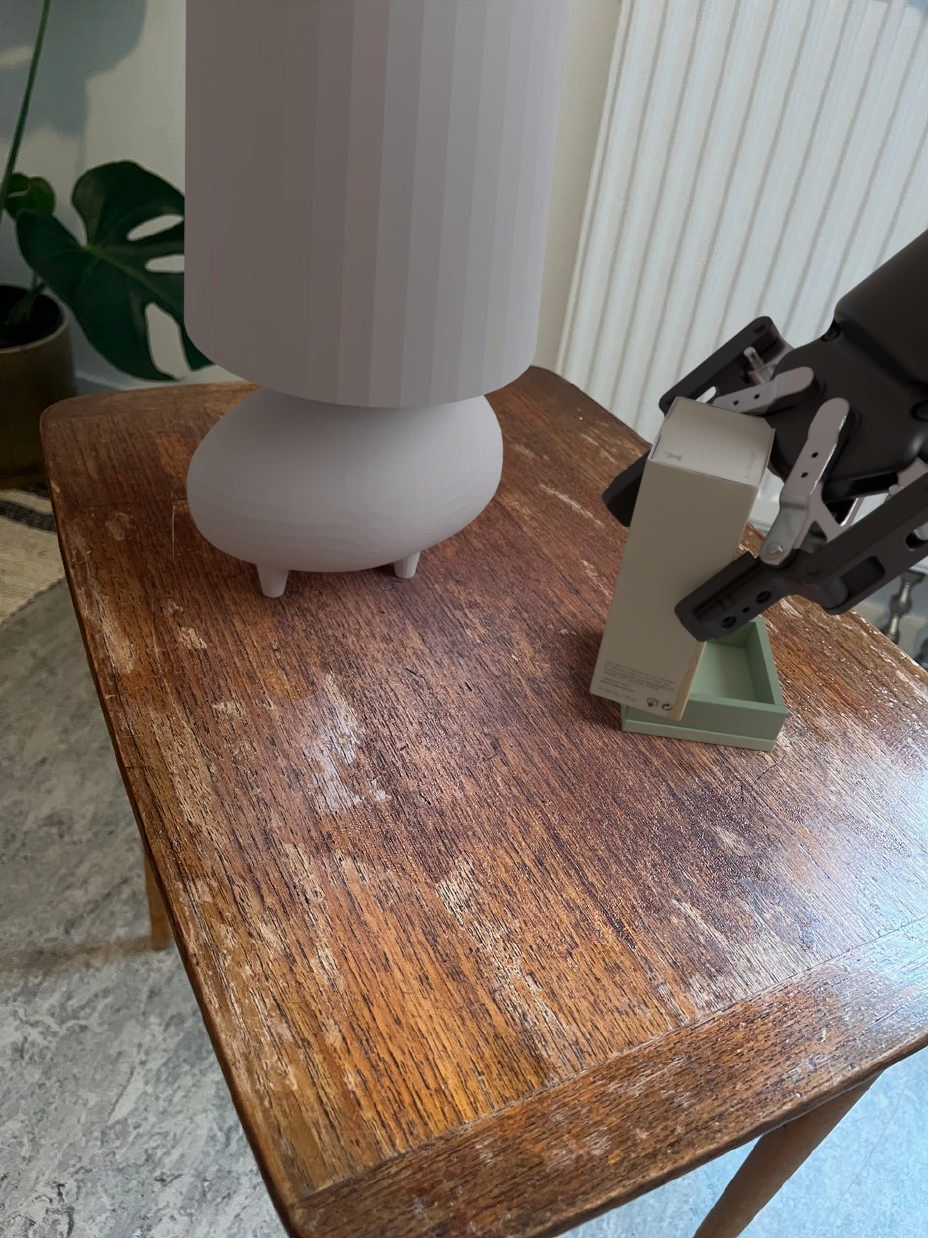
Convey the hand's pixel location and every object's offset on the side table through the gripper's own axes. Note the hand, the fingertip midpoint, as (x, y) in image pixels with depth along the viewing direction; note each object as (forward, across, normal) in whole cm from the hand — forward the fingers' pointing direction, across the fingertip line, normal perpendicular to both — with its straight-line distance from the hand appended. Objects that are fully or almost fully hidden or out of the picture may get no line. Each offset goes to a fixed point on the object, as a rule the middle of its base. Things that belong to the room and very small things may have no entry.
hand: (647, 566), depth 41 cm
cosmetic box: (+3, 0, +5) cm, 6 cm away
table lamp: (+20, -28, +10) cm, 35 cm away
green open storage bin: (+5, -12, +24) cm, 27 cm away
